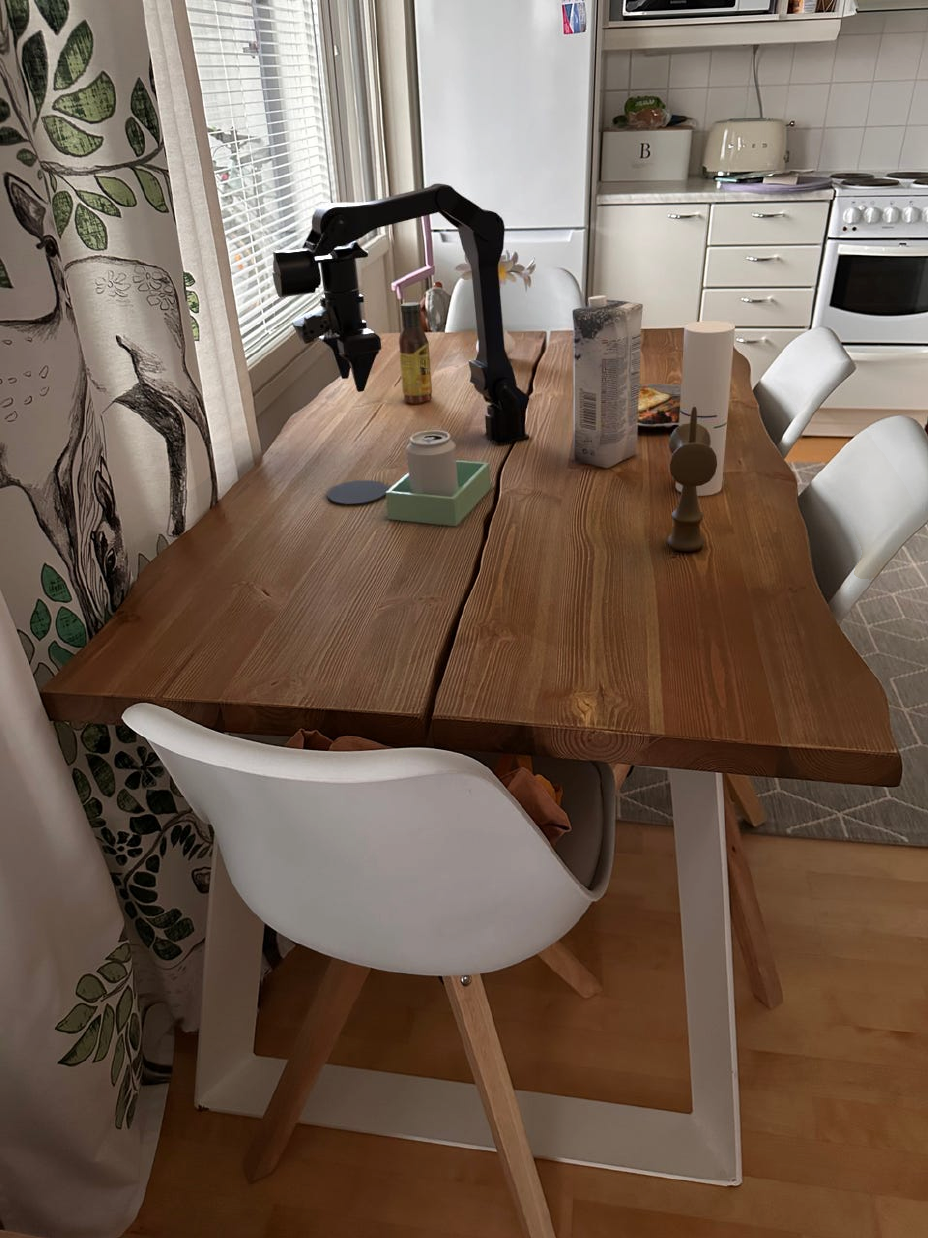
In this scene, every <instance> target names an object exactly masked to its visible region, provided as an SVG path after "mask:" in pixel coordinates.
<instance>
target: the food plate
mask: <svg viewBox="0 0 928 1238" xmlns="http://www.w3.org/2000/svg"><path fill="white" fill-rule="evenodd" d="M680 399H681V384H670V383H669V384H667V383H644V384H639V405H638V427H644V428H649V429H651V428H652V429H653V428H662V430H664V428H667V429H669V428H671V427H672V426H676V427H679V417H680Z"/></svg>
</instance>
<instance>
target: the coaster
mask: <svg viewBox="0 0 928 1238" xmlns="http://www.w3.org/2000/svg"><path fill="white" fill-rule="evenodd" d="M388 490H389V489H388V487H387V485H386V484H384V483H382V482H379V481H375V480H353V481H352V480H351V481H347V482H343V483H340V484H337V485H336V486H333V487H332V488H330V489H329V490H328V492H327V494H326V495H327V496H326V497H327V500H328V501H329V502H330V503H332V504H335V505H339V506H346V507H355V506H356V507H357V506H364V505H369V504H373V503H376V502H378V501H380V500H382V499H383V498H386V492H387V491H388Z"/></svg>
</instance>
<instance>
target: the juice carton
mask: <svg viewBox="0 0 928 1238" xmlns="http://www.w3.org/2000/svg"><path fill="white" fill-rule="evenodd" d="M643 308H644V304H643V303H638V302H632V301H625V300H614V299H607V295H604V294H603V295H602V294H601V295H594V296H590V297H588V306H584V307H578V308H574V309H572V324H573V325H572V326H573V456H574V457H573V458H574V460H575V461H576V462H579V463H582V464H583V463H584V464H587V465H590V466H591V465H592V466H595V467H600V468H603V469H609V468H612V467H613V466H615V465H617V464H618V463H621V462H622V461H625V460H627V459H629V458H631V457H633V456H635V454H636V453H637V445H638V430H639V429H638V427H639V426H638V405H639V385H640V374H641V373H640V371H641V370H640V369H641V347H642V345H641V344H642V342H641V341H642V320H643V319H642V318H643V310H644V309H643Z"/></svg>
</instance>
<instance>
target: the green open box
mask: <svg viewBox="0 0 928 1238" xmlns="http://www.w3.org/2000/svg"><path fill="white" fill-rule="evenodd" d="M490 465H491V464H490V462H484V461H483V462H482V461H473V460H472V461H470V460H457V459H456V466H457V481H458V491H457V492H456V493H455V494H454V495H453V496H452V497H446V496H436V495H425V494H415V493H411V491H410V481H409V471H408V472H407V473H406V474H405V475H403V476H402V477H401V478H400V479H399V480H398V481H397V482H396V483H395V484H393V485H392V486H391V487H390V488H389V489H388V491H387V492H386V496H385V500H386V510H387V519H388V520H392V521H401V522H411V523H422V524H430V525H440V526H446V527H447V526H448V527H449V526H450V527H457V526H458V525H459V524H460V523H461V522H462V521H463V520H464V518H465V517H466V516H467V515H468V514H469V513H470V512H471V511H472V510H473V509H474V508H475V507H476V505H478V503H479V502H480V501H481V500H482V499H483V498H484V497H485V496H486V494H488V493H489V491H490V490H491V489H492V487H491V485H492V484H491V466H490Z"/></svg>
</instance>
